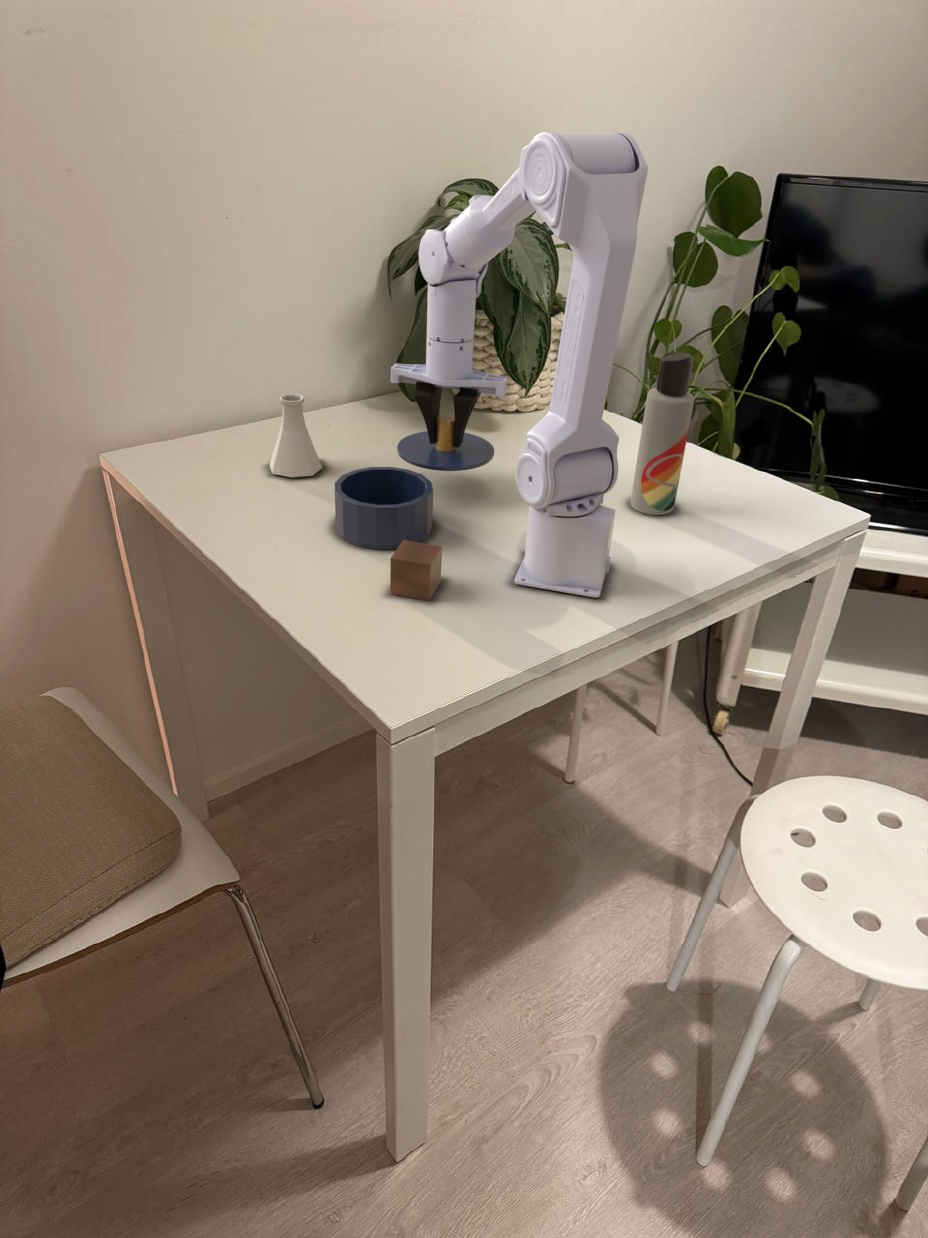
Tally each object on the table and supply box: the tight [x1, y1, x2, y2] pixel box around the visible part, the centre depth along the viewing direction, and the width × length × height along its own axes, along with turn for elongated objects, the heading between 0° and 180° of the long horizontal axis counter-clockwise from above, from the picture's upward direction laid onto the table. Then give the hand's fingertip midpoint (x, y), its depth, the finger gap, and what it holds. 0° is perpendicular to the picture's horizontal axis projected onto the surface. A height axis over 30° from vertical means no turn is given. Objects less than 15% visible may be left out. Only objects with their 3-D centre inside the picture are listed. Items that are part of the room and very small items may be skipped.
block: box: [389, 540, 443, 602], centre depth 97 cm, size 4×4×4 cm
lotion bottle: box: [630, 352, 695, 516], centre depth 113 cm, size 6×6×20 cm
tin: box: [333, 466, 434, 550], centre depth 109 cm, size 12×12×5 cm
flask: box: [269, 393, 323, 478], centre depth 121 cm, size 7×7×10 cm
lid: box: [396, 414, 495, 472], centre depth 116 cm, size 13×13×5 cm
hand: (446, 442), depth 117 cm, fingers closed on lid, 2 cm apart
